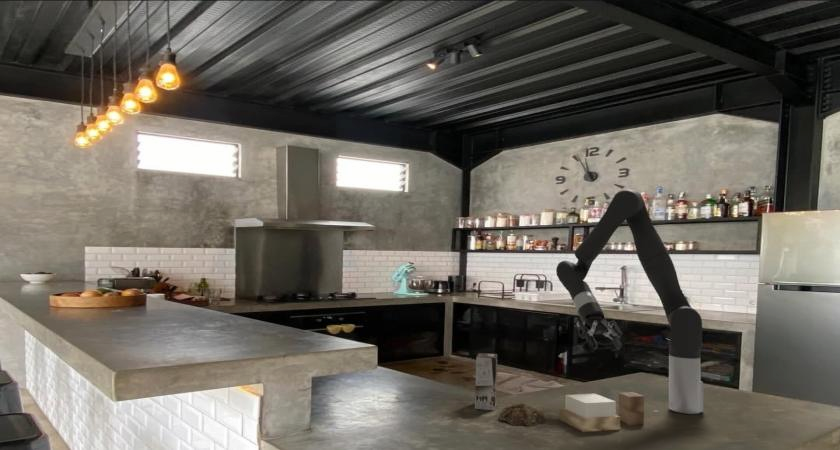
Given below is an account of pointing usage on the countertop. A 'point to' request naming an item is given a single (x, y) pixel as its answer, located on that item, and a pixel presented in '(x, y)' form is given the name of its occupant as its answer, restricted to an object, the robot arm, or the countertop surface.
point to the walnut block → (631, 408)
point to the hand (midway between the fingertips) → (607, 348)
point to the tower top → (590, 405)
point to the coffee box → (486, 381)
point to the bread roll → (521, 415)
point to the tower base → (589, 421)
